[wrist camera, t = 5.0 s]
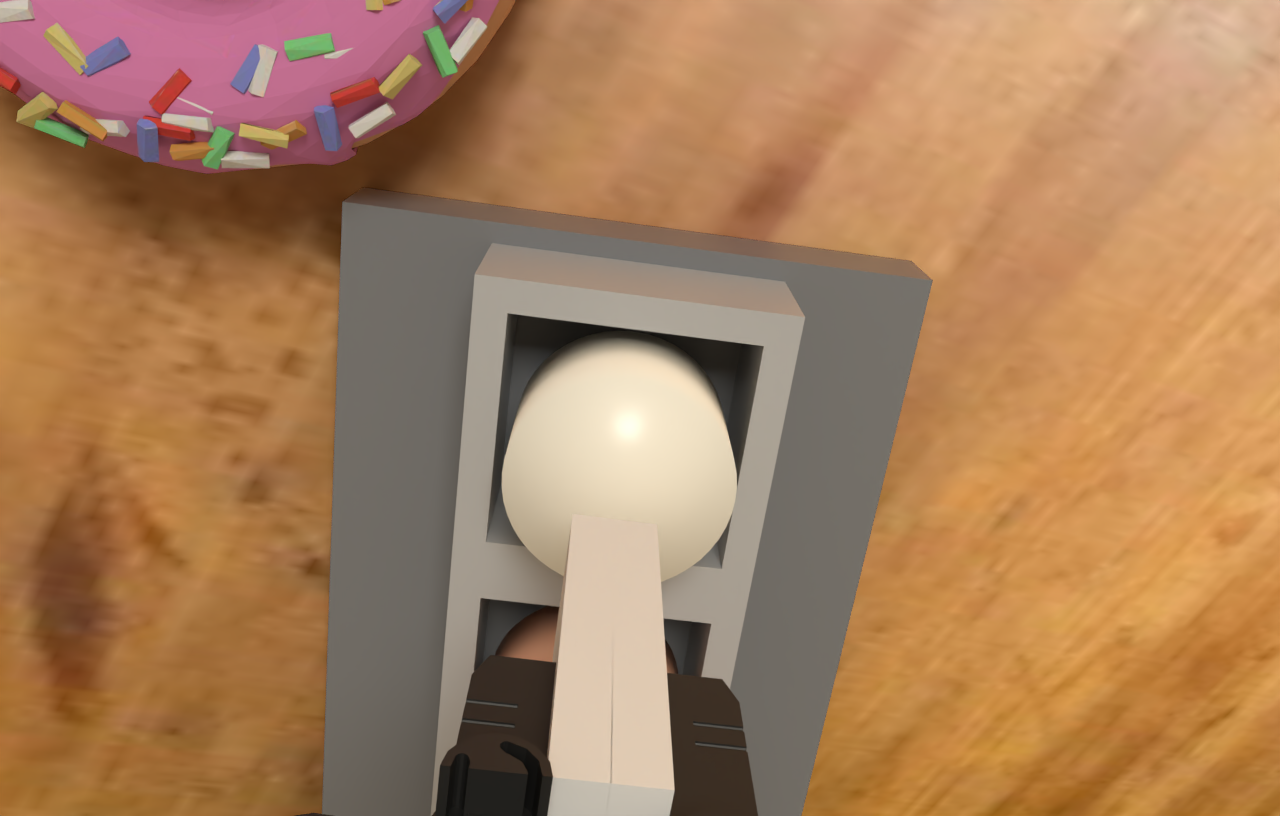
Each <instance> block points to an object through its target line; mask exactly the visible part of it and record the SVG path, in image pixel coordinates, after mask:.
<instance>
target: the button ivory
mask: <svg viewBox="0 0 1280 816" xmlns="http://www.w3.org/2000/svg"><path fill="white" fill-rule="evenodd" d="M736 491H737V473H736V467H735V461H734V456H733V452H732V448H731V444H730V439H729V435H728V431H727V427H726V422H725V418H724V414H723V410H722V406H721V402H720V399H719V396H718V393H717V391H716V389H715V387H714V385H713V383H712V381H711V380H710V378H709V377H708V375H707V374H706V372H705V371H704V370H703V369H702V367H701V366H700V365H699V364H698V363H697V362H696V361H695V360H694V359H693V358H692V357H691V356H689V355H688V354H687V353H686V352H685V351H683V350H681V349H680V348H678V347H677V346H675V345H674V344H672V343H669V342H667V341H665V340H663V339H661V338H658V337H655V336H652V335H649V334H644V333H639V332H633V331H607V332H601V333H596V334H591V335H588V336H585V337H582V338H579V339H577V340H575V341H572V342H570V343H568V344H566V345H565V346H563V347H562V348H560V349H558V350H557V351H555V352H554V353H553V354H552V355H551V356H549V357H548V358H547V359H546V360H545V361H544V362H543V363H542V364H541V365H540V366H539V367H538V368H537V370H536V371H535V372H534V374H533V375H532V377H531V378H530V380H529V381H528V383H527V385H526V387H525V389H524V391H523V393H522V397H521V400H520V403H519V406H518V410H517V413H516V417H515V421H514V425H513V428H512V432H511V436H510V440H509V443H508V447H507V451H506V455H505V458H504V464H503V470H502V494H503V502H504V505H505V509H506V513H507V516H508V518H509V520H510V523H511V525H512V527H513V529H514V531H515V532H516V534H517V536H518V537H519V539H520V540H521V541H522V543H523V544H524V545H525V546H526V548H527V549H528V550H529V551H530V552H531V553H532V554H533V555H534V556H535V557H536V558H537V559H538V560H539V561H541V562H542V563H543V564H545V565H546V566H547V567H549V568H550V569H552V570H554V571H555V572H557V573H559V574H561V575H562V576H564V570H565V563H566V556H567V549H568V542H569V534H570V527H571V520H572V514H579V515H587V516H595V517H603V518H611V519H619V520H627V521H635V522H643V523H651V524H657V529H658V545H659V560H660V575H661V582H662V581H665V580H667V579H670V578H672V577H674V576H677V575H678V574H680V573H682V572H683V571H685V570H687V569H689V568H690V567H691V566H693V565H694V564H695V563H697V562H698V561H699V560H701V559H702V558H703V557H704V556H705V555H706V554H707V553H708V552H709V551H710V550H711V549H712V547H713V546H714V545H715V544H716V542H717V541H718V540H719V538H720V537H721V535H722V533H723V532H724V530H725V528H726V526H727V524H728V522H729V519H730V517H731V515H732V511H733V507H734V504H735V499H736Z"/></svg>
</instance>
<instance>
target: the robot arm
mask: <svg viewBox="0 0 1280 816" xmlns="http://www.w3.org/2000/svg"><path fill="white" fill-rule="evenodd" d="M746 748H747V745H746V739H745V733H744V732H743V721H742V715H741V709H740V703H739V701H738V700H737V698H736V697H735V696H734V694H733V693H732V692H731V690H730V689H729V687H728V686H727V685H726V683H725V682H724V681H723V679H717V678H708V677H699V676H690V675H682V674H673V673H667V666H666V651H665V636H664V621H663V606H662V590H661V575H660V560H659V545H658V529H657V524H651V523H643V522H635V521H627V520H619V519H611V518H603V517H595V516H587V515H579V514H572V520H571V527H570V534H569V542H568V549H567V556H566V563H565V570H564V578H563V585H562V592H561V599H560V606H559V614H558V621H557V628H556V635H555V642H554V651H553V661H552V662H548V661H539V660H530V659H521V658H513V657H504V656H495V655H490V656H489V657H488V658H487V659H486V660H485V661H484V662H483V663H482V664H481V665H480V666H479V667H478V668H477V669H476V670H475V671H474V673H473V674H472V675H471V680H470V684H469V689H468V693H467V698H466V703H465V707H464V711H463V716H462V722H461V725H460V729H459V734H458V738H457V743H456V745H455V746H454V747H452V748H451V749H450V750H448V751H447V753H446V755H445V757H444V759H443V760H442V762H441V764H440V770H439V780H438V791H437V801H436V811H435V812H434V813H433V815H432V816H758V812H757V806H756V800H755V794H754V788H753V782H752V776H751V769H750V763H749V757H748V752H746ZM296 816H333V815H325V814H318V813H309V814H303V815H296Z"/></svg>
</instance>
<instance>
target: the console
mask: <svg viewBox="0 0 1280 816" xmlns="http://www.w3.org/2000/svg"><path fill="white" fill-rule="evenodd" d="M932 281H933V280H932V279H930V278H929V277H928V276H927V275H926V274H925V273H924V272H923V271H922V270H921V269H919V268H918V267H917V266H916V265H915V264H914V263H913V262H912V261H907V260H900V259H892V258H885V257H878V256H870V255H863V254H855V253H848V252H840V251H833V250H825V249H818V248H811V247H803V246H796V245H788V244H781V243H773V242H766V241H758V240H751V239H744V238H736V237H729V236H721V235H714V234H706V233H699V232H691V231H684V230H677V229H669V228H662V227H654V226H647V225H639V224H632V223H624V222H617V221H610V220H602V219H595V218H587V217H580V216H572V215H565V214H557V213H550V212H543V211H535V210H528V209H520V208H513V207H505V206H498V205H490V204H483V203H476V202H468V201H461V200H453V199H446V198H438V197H431V196H423V195H416V194H409V193H401V192H394V191H386V190H379V189H371V188H364V187H363V188H361V189H360V190H358V191H357V192H356V193H354V194H353V195H351V196H350V197H348V198H347V199H346V200H344V201H343V202H342V230H341V260H340V290H339V321H338V351H337V381H336V411H335V441H334V471H333V501H332V531H331V561H330V591H329V621H328V651H327V681H326V711H325V741H324V772H323V802H322V814H325V815H333V816H432V815H433V813H434V812H435V811H436V801H437V791H438V780H439V770H440V764H441V762H442V760H443V759H444V757H445V755H446V753H447V751H448V750H450V749H451V748H452V747H454V746H455V745H456V743H457V738H458V734H459V729H460V725H461V722H462V716H463V711H464V707H465V703H466V698H467V693H468V689H469V684H470V680H471V675H472V674H473V673H474V671H475V670H476V669H477V668H478V667H479V666H480V665H481V664H482V663H483V662H484V661H485V660H486V659H487V658H488V657H489V656H490V655H495V653H496V651H497V649H498V647H499V645H500V643H501V641H502V640H503V639H504V637H505V636H506V634H507V633H508V632H509V631H510V630H511V629H512V628H513V627H514V626H515V625H516V624H517V623H519V622H520V621H521V620H522V619H524V618H525V617H527V616H528V615H530V614H532V613H533V612H535V611H538V610H540V609H542V608H544V607H547V606H557V607H559V606H560V599H561V592H562V585H563V578H564V576H562V575H561V574H559V573H557V572H555V571H554V570H552V569H550V568H549V567H547V566H546V565H545V564H543V563H542V562H541V561H539V560H538V559H537V558H536V557H535V556H534V555H533V554H532V553H531V552H530V551H529V550H528V549H527V548H526V546H525V545H524V544H523V543H522V541H521V540H520V539H519V537H518V536H517V534H516V532H515V531H514V529H513V527H512V525H511V523H510V520H509V518H508V516H507V513H506V509H505V505H504V502H503V494H502V470H503V464H504V458H505V455H506V451H507V447H508V443H509V440H510V436H511V432H512V428H513V425H514V421H515V417H516V413H517V410H518V406H519V403H520V400H521V397H522V393H523V391H524V389H525V387H526V385H527V383H528V381H529V380H530V378H531V377H532V375H533V374H534V372H535V371H536V370H537V368H538V367H539V366H540V365H541V364H542V363H543V362H544V361H545V360H546V359H547V358H548V357H549V356H551V355H552V354H553V353H554V352H555V351H557V350H558V349H560V348H562V347H563V346H565V345H566V344H568V343H570V342H572V341H575V340H577V339H579V338H582V337H585V336H588V335H591V334H596V333H601V332H607V331H633V332H639V333H644V334H649V335H652V336H655V337H658V338H661V339H663V340H665V341H667V342H669V343H672V344H674V345H675V346H677V347H678V348H680V349H681V350H683V351H685V352H686V353H687V354H688V355H689V356H691V357H692V358H693V359H694V360H695V361H696V362H697V363H698V364H699V365H700V366H701V367H702V369H703V370H704V371H705V372H706V374H707V375H708V377H709V378H710V380H711V381H712V383H713V385H714V387H715V389H716V391H717V393H718V396H719V399H720V402H721V406H722V410H723V414H724V418H725V422H726V427H727V431H728V435H729V439H730V444H731V448H732V452H733V456H734V461H735V467H736V473H737V491H736V499H735V504H734V507H733V511H732V515H731V517H730V519H729V522H728V524H727V526H726V528H725V530H724V532H723V533H722V535H721V537H720V538H719V540H718V541H717V542H716V544H715V545H714V546H713V547H712V549H711V550H710V551H709V552H708V553H707V554H706V555H705V556H704V557H703V558H702V559H701V560H699V561H698V562H697V563H695V564H694V565H693V566H691V567H690V568H689V569H687V570H685V571H683V572H682V573H680V574H678V575H677V576H674V577H672V578H670V579H667V580H665V581H662V582H661V590H662V606H663V621H664V636H665V639H666V641H667V642H668V644H669V646H670V648H671V649H672V651H673V654H674V657H675V659H676V663H677V668H678V674H682V675H690V676H699V677H708V678H717V679H723V681H724V682H725V683H726V685H727V686H728V687H729V689H730V690H731V692H732V693H733V694H734V696H735V697H736V698H737V700H738V701H739V703H740V709H741V715H742V721H743V732H744V733H745V739H746V745H747V748H746V752H748V757H749V763H750V769H751V776H752V782H753V788H754V794H755V800H756V806H757V812H758V816H801V815H802V811H803V807H804V803H805V799H806V795H807V790H808V786H809V782H810V778H811V774H812V770H813V766H814V762H815V758H816V754H817V750H818V746H819V742H820V737H821V733H822V729H823V725H824V721H825V717H826V713H827V709H828V705H829V701H830V697H831V693H832V689H833V684H834V680H835V676H836V672H837V668H838V664H839V660H840V656H841V652H842V648H843V644H844V640H845V636H846V631H847V627H848V623H849V619H850V615H851V611H852V607H853V603H854V599H855V595H856V591H857V587H858V583H859V579H860V574H861V570H862V566H863V562H864V558H865V554H866V550H867V546H868V542H869V538H870V534H871V530H872V526H873V521H874V517H875V513H876V509H877V505H878V501H879V497H880V493H881V489H882V485H883V481H884V477H885V473H886V468H887V464H888V460H889V456H890V452H891V448H892V444H893V440H894V436H895V432H896V428H897V424H898V420H899V415H900V411H901V407H902V403H903V399H904V395H905V391H906V387H907V383H908V379H909V375H910V371H911V367H912V362H913V358H914V354H915V350H916V346H917V342H918V338H919V334H920V330H921V326H922V322H923V318H924V314H925V310H926V305H927V301H928V297H929V293H930V289H931V285H932Z"/></svg>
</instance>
